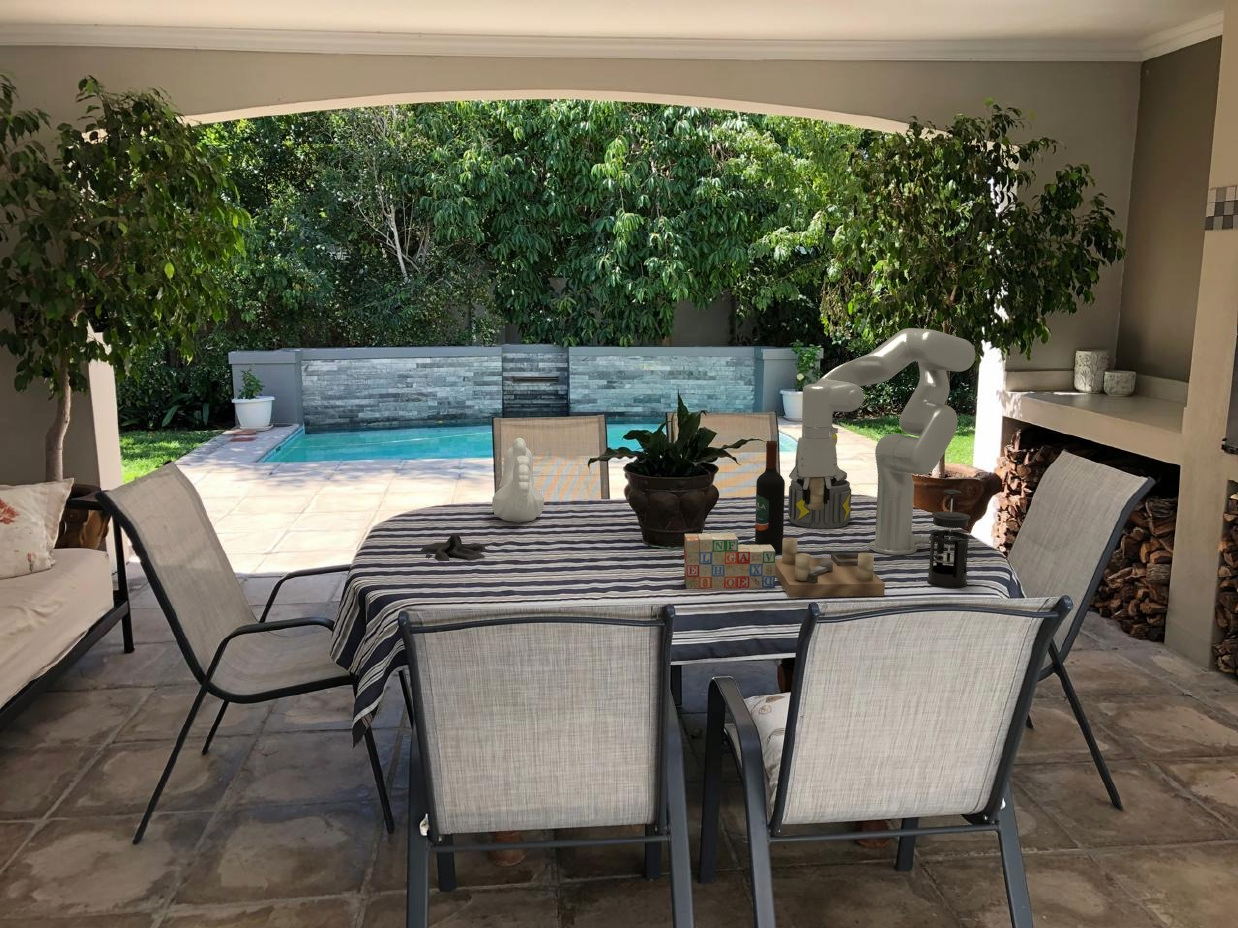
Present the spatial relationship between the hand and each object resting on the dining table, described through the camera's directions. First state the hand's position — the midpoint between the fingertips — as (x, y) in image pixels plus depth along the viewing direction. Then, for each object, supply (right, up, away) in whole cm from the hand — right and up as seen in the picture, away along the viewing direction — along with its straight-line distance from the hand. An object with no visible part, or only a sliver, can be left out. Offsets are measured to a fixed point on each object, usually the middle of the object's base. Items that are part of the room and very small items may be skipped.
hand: (815, 502), depth 272 cm
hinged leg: (-4, -16, -19) cm, 25 cm away
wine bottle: (-10, -14, +15) cm, 23 cm away
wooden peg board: (0, -19, -14) cm, 24 cm away
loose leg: (0, -1, 0) cm, 1 cm away
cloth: (-95, -15, +12) cm, 97 cm away
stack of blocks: (-24, -20, -16) cm, 35 cm away
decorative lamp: (+10, -8, +47) cm, 49 cm away
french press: (+29, -19, -15) cm, 38 cm away
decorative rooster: (-81, -8, +48) cm, 95 cm away
